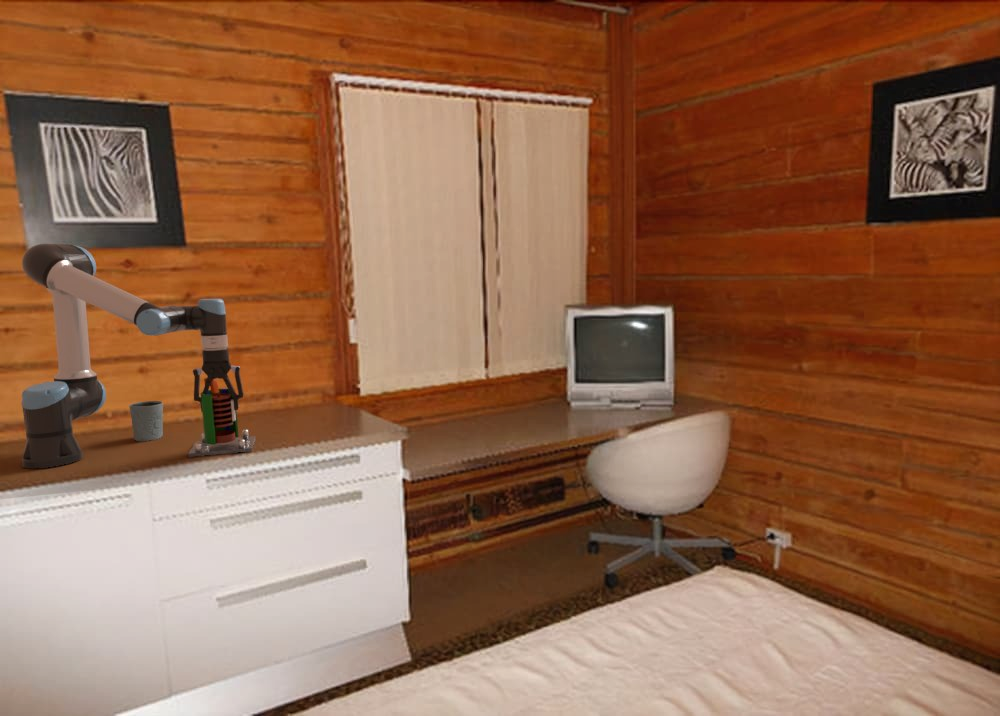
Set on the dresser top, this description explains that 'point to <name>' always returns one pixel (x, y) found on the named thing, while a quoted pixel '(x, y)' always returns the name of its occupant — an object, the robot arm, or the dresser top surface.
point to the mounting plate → (223, 446)
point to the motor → (218, 415)
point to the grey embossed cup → (147, 420)
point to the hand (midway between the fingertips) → (221, 421)
